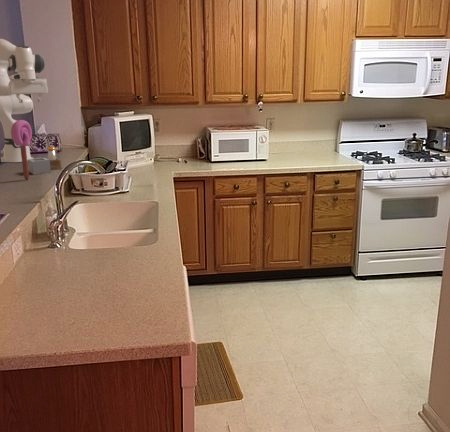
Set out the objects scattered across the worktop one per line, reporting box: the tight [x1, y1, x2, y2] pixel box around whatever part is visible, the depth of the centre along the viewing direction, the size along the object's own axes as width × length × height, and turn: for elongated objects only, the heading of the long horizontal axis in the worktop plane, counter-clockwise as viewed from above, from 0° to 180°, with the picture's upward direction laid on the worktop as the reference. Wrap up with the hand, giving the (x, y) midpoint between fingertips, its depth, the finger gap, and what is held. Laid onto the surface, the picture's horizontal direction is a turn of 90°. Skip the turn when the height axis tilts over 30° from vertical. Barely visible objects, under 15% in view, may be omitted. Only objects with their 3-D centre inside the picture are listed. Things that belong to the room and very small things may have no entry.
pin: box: [47, 146, 57, 161], centre depth 276 cm, size 4×4×12 cm
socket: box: [27, 157, 52, 175], centre depth 267 cm, size 9×9×7 cm
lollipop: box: [11, 119, 33, 181], centre depth 245 cm, size 13×8×30 cm, turn 167°
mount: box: [50, 157, 62, 171], centre depth 277 cm, size 7×7×5 cm
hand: (30, 102), depth 270 cm, fingers open, 8 cm apart
